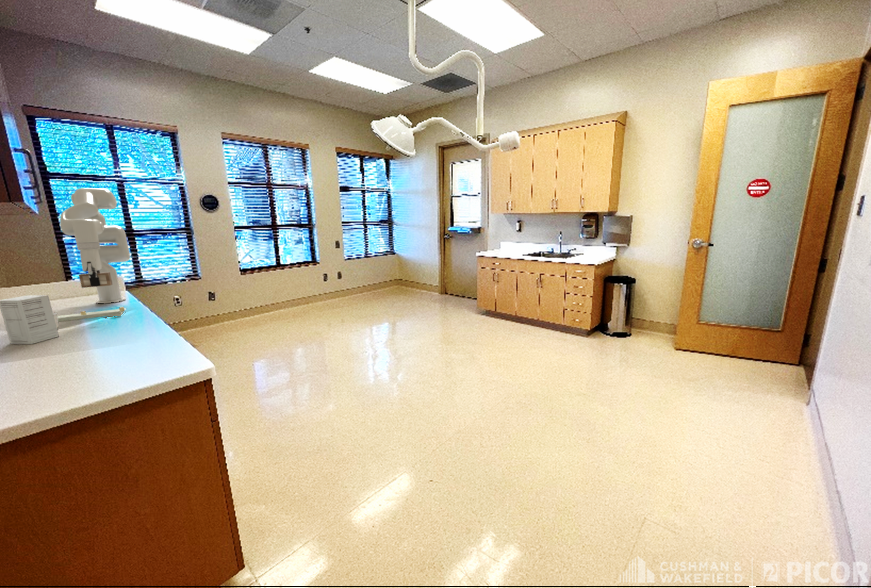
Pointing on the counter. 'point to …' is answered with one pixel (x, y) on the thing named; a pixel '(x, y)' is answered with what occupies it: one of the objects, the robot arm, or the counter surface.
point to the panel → (92, 314)
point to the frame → (103, 277)
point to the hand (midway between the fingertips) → (97, 284)
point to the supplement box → (28, 319)
